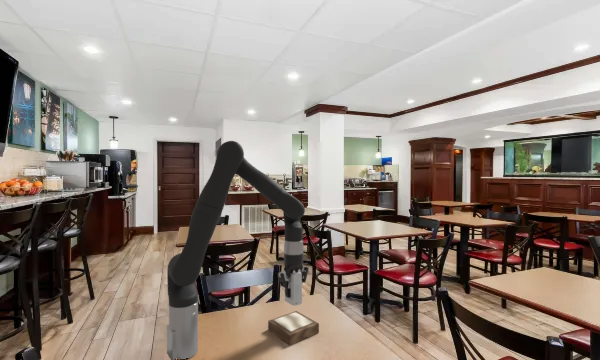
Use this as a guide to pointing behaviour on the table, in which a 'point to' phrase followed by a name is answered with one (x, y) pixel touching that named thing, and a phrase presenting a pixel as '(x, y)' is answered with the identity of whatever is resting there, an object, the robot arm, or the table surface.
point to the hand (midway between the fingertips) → (293, 295)
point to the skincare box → (295, 289)
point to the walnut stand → (293, 327)
